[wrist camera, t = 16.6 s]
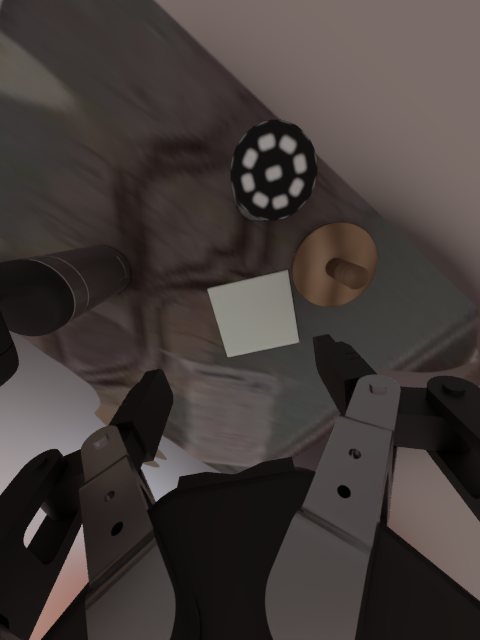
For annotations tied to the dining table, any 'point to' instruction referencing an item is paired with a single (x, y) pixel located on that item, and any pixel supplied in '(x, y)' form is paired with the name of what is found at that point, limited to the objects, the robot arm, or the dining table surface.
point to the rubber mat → (255, 313)
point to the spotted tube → (273, 171)
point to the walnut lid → (334, 264)
